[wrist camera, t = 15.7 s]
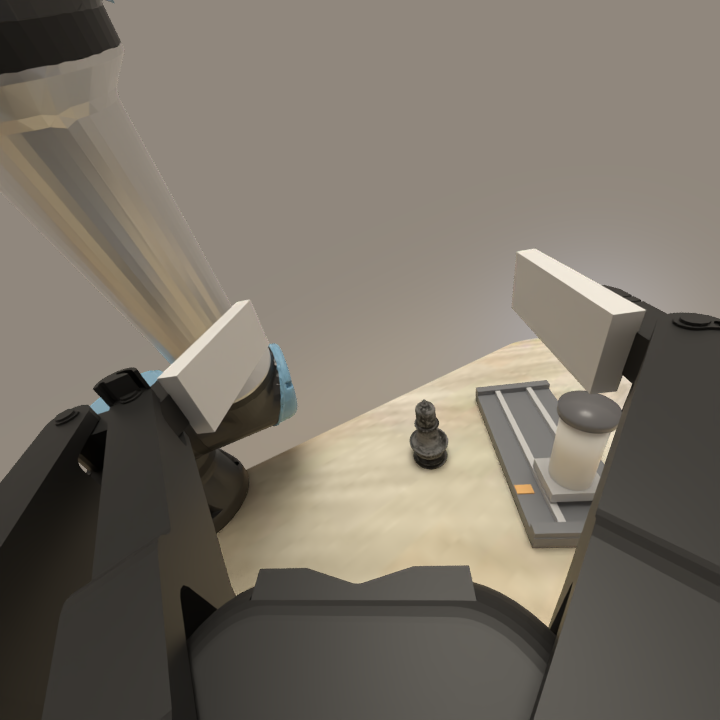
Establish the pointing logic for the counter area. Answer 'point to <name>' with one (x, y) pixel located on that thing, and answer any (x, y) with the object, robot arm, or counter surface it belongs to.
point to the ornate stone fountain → (428, 438)
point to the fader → (577, 446)
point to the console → (531, 458)
